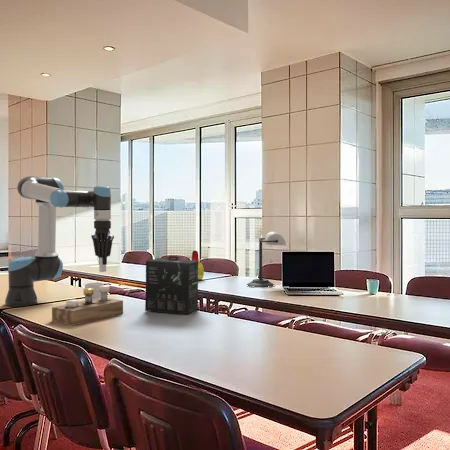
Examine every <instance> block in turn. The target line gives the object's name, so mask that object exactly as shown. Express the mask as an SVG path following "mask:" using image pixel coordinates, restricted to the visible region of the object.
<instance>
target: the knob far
mask: <svg viewBox="0 0 450 450" xmlns="http://www.w3.org/2000/svg"><path fill="white" fill-rule="evenodd" d="M99 292H101V302H106V301H108V298H109V297H108V295H109V294H108V293H109V292H110V285H104V286H99Z"/></svg>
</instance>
